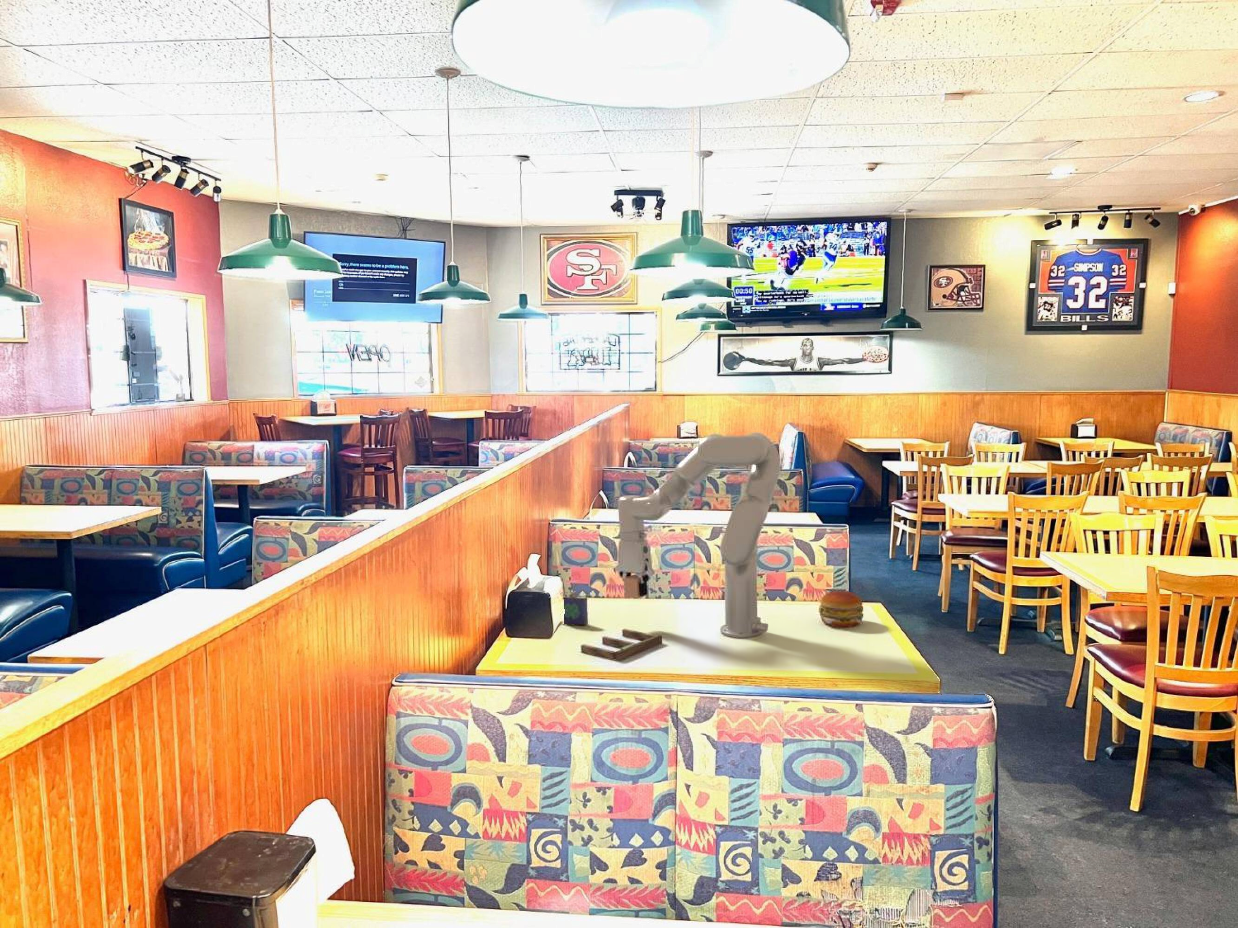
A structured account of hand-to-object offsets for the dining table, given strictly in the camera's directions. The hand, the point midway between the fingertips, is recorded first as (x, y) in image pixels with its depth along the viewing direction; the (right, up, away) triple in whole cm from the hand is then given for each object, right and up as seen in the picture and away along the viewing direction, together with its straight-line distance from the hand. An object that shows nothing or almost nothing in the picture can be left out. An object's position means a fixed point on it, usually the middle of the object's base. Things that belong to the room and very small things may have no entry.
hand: (636, 593), depth 273 cm
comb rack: (-5, -13, -18) cm, 23 cm away
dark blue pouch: (-19, -11, +7) cm, 23 cm away
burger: (+63, -9, -1) cm, 64 cm away
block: (0, -1, 0) cm, 1 cm away
